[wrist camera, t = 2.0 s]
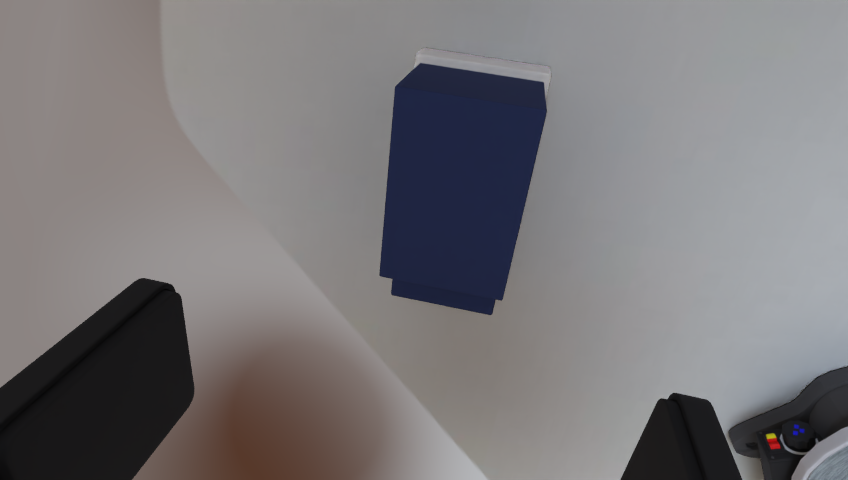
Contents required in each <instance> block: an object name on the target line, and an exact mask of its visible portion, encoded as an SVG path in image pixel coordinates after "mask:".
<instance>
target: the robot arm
mask: <svg viewBox="0 0 848 480" xmlns="http://www.w3.org/2000/svg"><path fill="white" fill-rule="evenodd" d="M193 396H194V382H193V376H192V369H191V362H190V355H189V348H188V341H187V334H186V328H185V320H184V313H183V307H182V299H181V296H180V295H179V294H178V293H176V292H175V289H174V287H173V286H172V285H171V284H168V283H164V282H159V281H155V280H150V279H145V278H141V279H138V280H137V281H135V282H134V283H132V284H131V285H130V286H129V287H127V288H126V289H125V290H123V291H122V292H121V293H120V294H118V295H117V296H116V297H115V298H113V299H112V300H111V301H110V302H108V303H107V304H106V305H105V306H103V307H102V308H101V309H99V310H98V311H97V312H96V313H94V314H93V315H92V316H91V317H89V318H88V319H87V320H86V321H85V322H83V323H82V324H80V325H79V326H78V327H77V328H75V329H74V330H73V331H72V332H70V333H69V334H68V335H67V336H65V337H64V338H63V339H62V340H61V341H59V342H58V343H57V344H55V345H54V346H53V347H52V348H50V349H49V350H48V351H46V352H45V353H44V354H43V355H41V356H40V357H39V358H38V359H36V360H35V361H34V362H33V363H31V364H30V365H29V366H27V367H26V368H25V369H24V370H22V371H21V372H20V373H19V374H17V375H16V376H15V377H13V378H12V379H11V380H10V381H8V382H7V383H6V384H5V385H3V386H2V387H1V388H0V480H132V479H133V478H134V476H135V475H136V474H137V472H138V471H139V470H140V468H141V467H142V466H143V465H144V464H145V462H146V461H147V460H148V458H149V457H150V456H151V455H152V453H153V452H154V451H155V449H156V448H157V447H158V446H159V444H160V443H161V442H162V441H163V439H164V438H165V437H166V435H167V434H168V433H169V432H170V430H171V429H172V428H173V426H174V425H175V424H176V423H177V421H178V420H179V419H180V418H181V416H182V415H183V414H184V412H185V411H186V410H187V408H188V407H189V406H190V404H191V402H192V399H193ZM621 480H742V478H741V475H740V473H739V470H738V468H737V465H736V463H735V460H734V458H733V455H732V453H731V450H730V448H729V446H728V443H727V441H726V438H725V436H724V433H723V431H722V428H721V426H720V423H719V421H718V418H717V416H716V413H715V411H714V408H713V406H712V405H711V403H710V402H709V401H708V400H706V399H701V398H696V397H692V396H687V395H683V394H678V393H673V394H671V395H670V396H669V398H668V399H660V400H658V402H657V404H656V406H655V408H654V410H653V412H652V414H651V416H650V418H649V421H648V423H647V425H646V427H645V429H644V431H643V433H642V435H641V437H640V440H639V442H638V444H637V446H636V448H635V450H634V452H633V454H632V456H631V459H630V461H629V463H628V465H627V467H626V469H625V471H624V473H623V475H622V478H621Z"/></svg>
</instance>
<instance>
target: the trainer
mask: <svg viewBox="0 0 848 480" xmlns="http://www.w3.org/2000/svg"><path fill="white" fill-rule="evenodd" d="M550 80H551V70H550V67H549V66H543V65H536V64H529V63H523V62H516V61H510V60H503V59H497V58H490V57H483V56H477V55H470V54H464V53H457V52H450V51H444V50H437V49H431V48H422V49H421V50H420V51H419V52H417V53H416V55H415V65H414V69H413V70H412V71H411V72H410V73H409V74H408V75H407V76H406V77H405V78H404V79H403V80H402V81H401V82H399V83H398V84H397V85H396V87H395V95H394V107H393V119H392V131H391V143H390V155H389V167H388V179H387V191H386V203H385V215H384V227H383V239H382V251H381V263H380V276H382V277H386V278H391V279H393V280H392V290H391V294H392V295H394V296H399V297H404V298H409V299H414V300H419V301H424V302H429V303H434V304H439V305H443V306H448V307H453V308H458V309H463V310H468V311H473V312H478V313H483V314H488V315H491V314H492V313H493V308H494V304H495V299H496V300H502V299H503V296H504V291H505V287H506V283H507V279H508V274H509V270H510V266H511V262H512V257H513V253H514V249H515V245H516V240H517V236H518V232H519V228H520V223H521V219H522V215H523V211H524V206H525V202H526V198H527V194H528V189H529V185H530V181H531V177H532V172H533V168H534V164H535V160H536V155H537V151H538V147H539V143H540V138H541V134H542V130H543V126H544V121H545V117H546V113H547V109H546V97H547V93H548V88H549V84H550Z"/></svg>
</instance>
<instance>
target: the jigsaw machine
mask: <svg viewBox="0 0 848 480" xmlns="http://www.w3.org/2000/svg"><path fill="white" fill-rule="evenodd" d="M729 437H730V439H731V442H732V444H733V447H734V449H735V451H736V452H737V453H739V454H741V455H744V456H748V457H755V458H761V463H762V468H763V473H764V479H765V480H848V367H846V368H841V369H838V370H835V371H831V372H828V373H826V374H824V375H822V376H820V377H818V378H817V379H816V380H814V381H813V382H812V383H811V384H810V385H809V386H808V387H807V388H806V389H805V390H804V391H803V392H802V393H801V394H800V395H799V396H798V397H797V398H796V399H795V400H794V401H792V402H791V403H788V404H786V405H784V406H781V407H779V408H777V409H774V410H772V411H769V412H767V413H765V414H762V415H760V416H757V417H755V418H752V419H750V420H748V421H745V422H743V423H741V424H739V425H737V426H735V427H734V428H732V429H731V430H730V431H729Z"/></svg>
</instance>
